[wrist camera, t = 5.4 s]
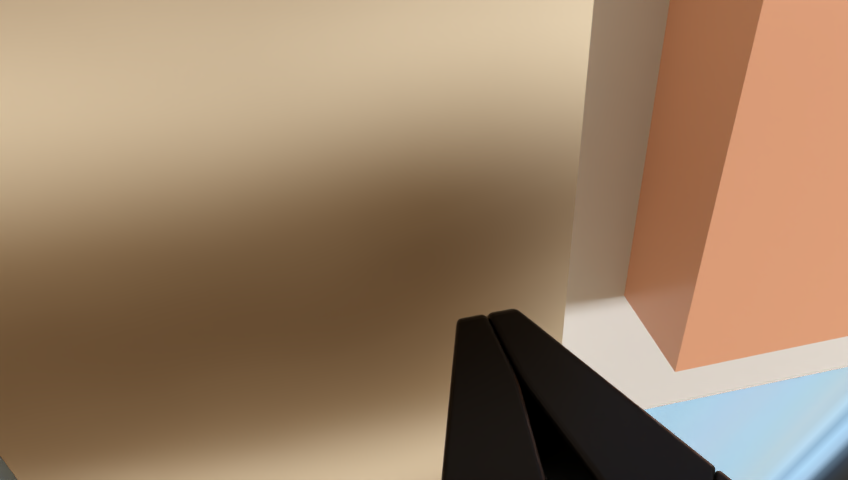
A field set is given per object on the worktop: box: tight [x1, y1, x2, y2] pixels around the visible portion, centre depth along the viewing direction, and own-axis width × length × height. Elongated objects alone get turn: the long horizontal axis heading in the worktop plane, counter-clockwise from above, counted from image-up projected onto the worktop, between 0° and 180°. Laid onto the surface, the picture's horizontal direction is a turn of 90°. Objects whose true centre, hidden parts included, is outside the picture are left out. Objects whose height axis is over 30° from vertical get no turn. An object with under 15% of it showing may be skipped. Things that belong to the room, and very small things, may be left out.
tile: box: [624, 0, 848, 372], centre depth 13 cm, size 9×6×2 cm, turn 3°
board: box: [0, 0, 594, 480], centre depth 11 cm, size 16×9×4 cm, turn 3°
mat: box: [562, 0, 848, 410], centre depth 14 cm, size 18×13×1 cm
